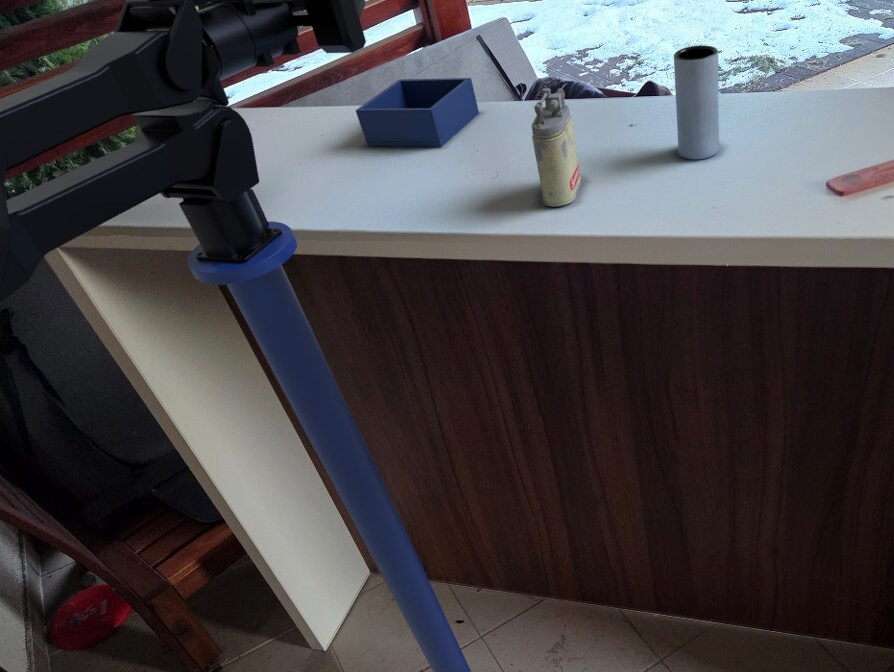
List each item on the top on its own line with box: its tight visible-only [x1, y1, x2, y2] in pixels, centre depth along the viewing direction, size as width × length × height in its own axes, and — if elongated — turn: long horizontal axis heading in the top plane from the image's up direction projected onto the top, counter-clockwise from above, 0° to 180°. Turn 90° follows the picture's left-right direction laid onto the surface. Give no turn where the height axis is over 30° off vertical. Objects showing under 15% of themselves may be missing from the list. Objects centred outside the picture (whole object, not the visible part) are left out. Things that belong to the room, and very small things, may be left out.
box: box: [355, 77, 480, 148], centre depth 99 cm, size 11×11×5 cm
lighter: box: [531, 87, 583, 207], centre depth 77 cm, size 7×4×10 cm, turn 171°
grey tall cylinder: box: [673, 45, 720, 160], centre depth 80 cm, size 4×4×10 cm
